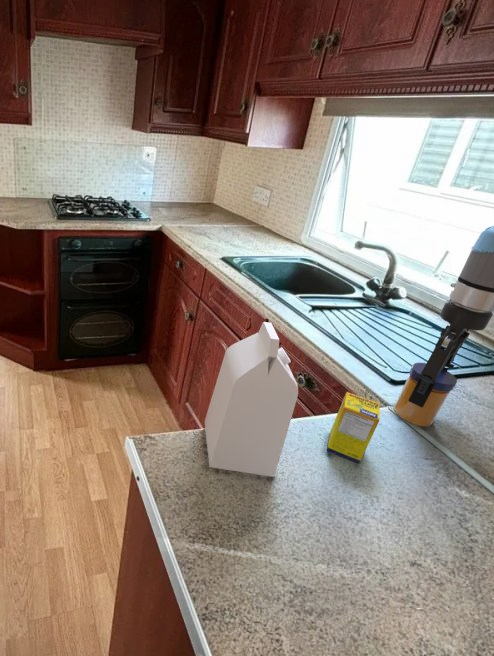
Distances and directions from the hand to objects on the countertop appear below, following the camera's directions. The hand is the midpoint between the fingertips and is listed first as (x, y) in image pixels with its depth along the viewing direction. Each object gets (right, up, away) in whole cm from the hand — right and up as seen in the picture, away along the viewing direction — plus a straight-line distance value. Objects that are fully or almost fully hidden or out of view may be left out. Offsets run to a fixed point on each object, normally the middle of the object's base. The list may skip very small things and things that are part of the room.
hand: (422, 396), depth 90 cm
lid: (+1, +5, -3) cm, 6 cm away
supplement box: (-23, -8, -9) cm, 26 cm away
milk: (-45, -7, -12) cm, 47 cm away
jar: (0, -5, +2) cm, 5 cm away
